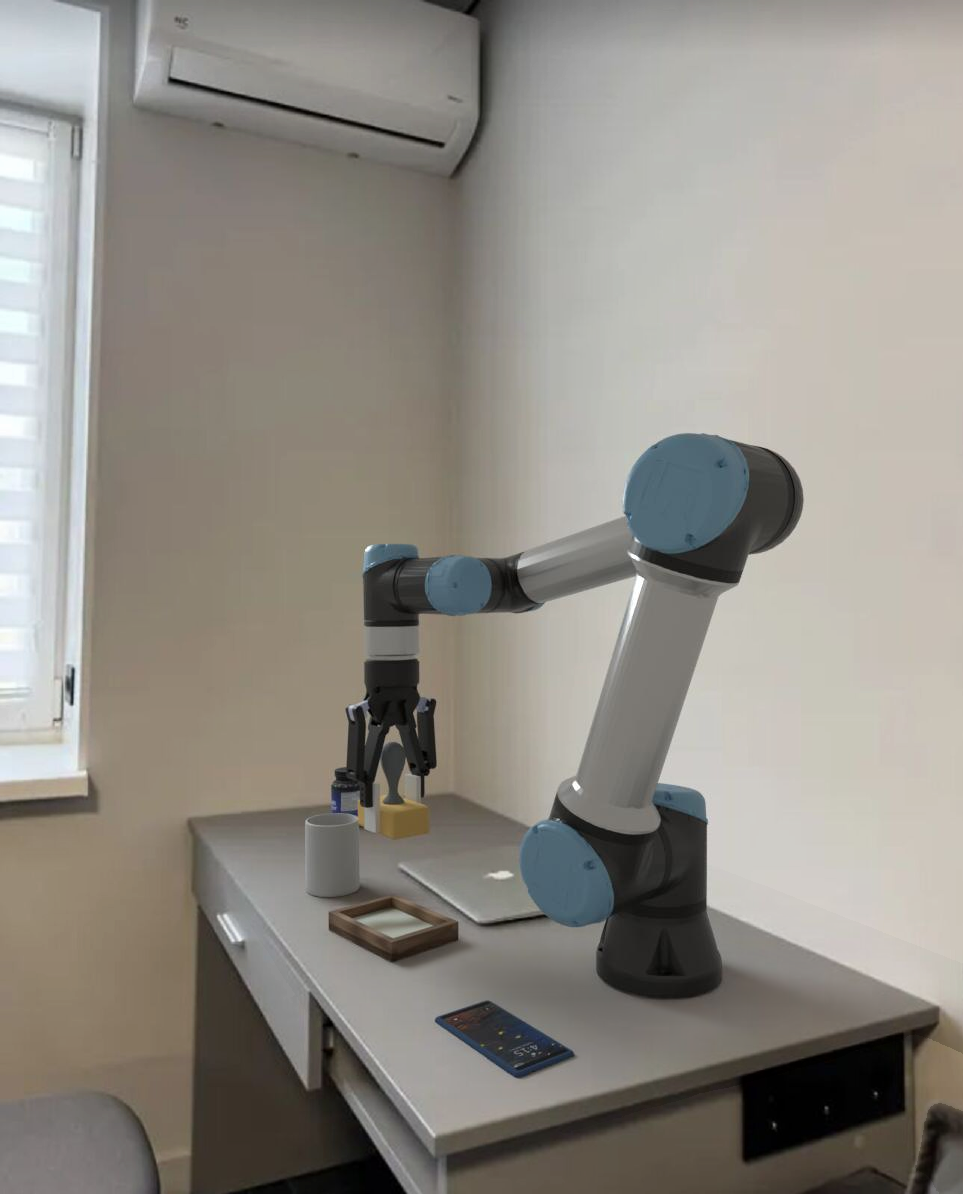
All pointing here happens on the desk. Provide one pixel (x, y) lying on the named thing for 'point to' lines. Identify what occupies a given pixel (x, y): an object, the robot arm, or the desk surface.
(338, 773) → the pill bottle
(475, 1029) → the smartphone
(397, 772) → the rubber stamp
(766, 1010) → the desk surface
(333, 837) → the mug
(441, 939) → the tray
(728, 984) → the desk surface
